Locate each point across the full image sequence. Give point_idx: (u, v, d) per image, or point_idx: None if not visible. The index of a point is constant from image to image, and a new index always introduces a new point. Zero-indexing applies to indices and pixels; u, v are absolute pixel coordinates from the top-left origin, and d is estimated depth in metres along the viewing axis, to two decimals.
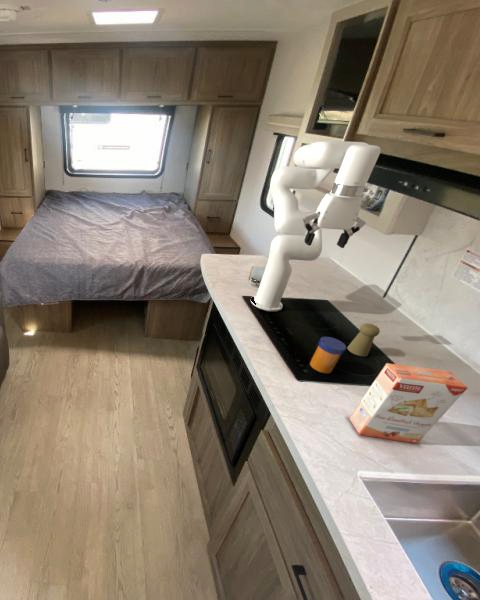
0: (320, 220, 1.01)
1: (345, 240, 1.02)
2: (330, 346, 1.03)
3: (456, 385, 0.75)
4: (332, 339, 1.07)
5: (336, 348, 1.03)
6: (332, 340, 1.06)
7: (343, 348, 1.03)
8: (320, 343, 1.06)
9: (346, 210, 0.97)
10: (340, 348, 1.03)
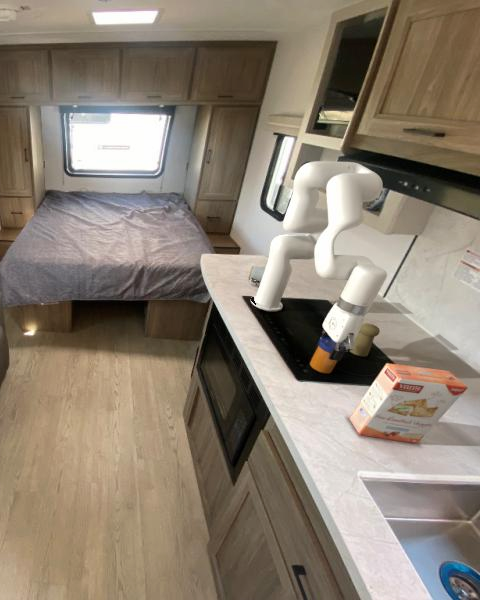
0: (354, 339, 0.98)
1: None
2: (330, 346, 1.03)
3: (456, 385, 0.75)
4: None
5: None
6: (332, 340, 1.06)
7: None
8: (320, 343, 1.06)
9: None
10: None
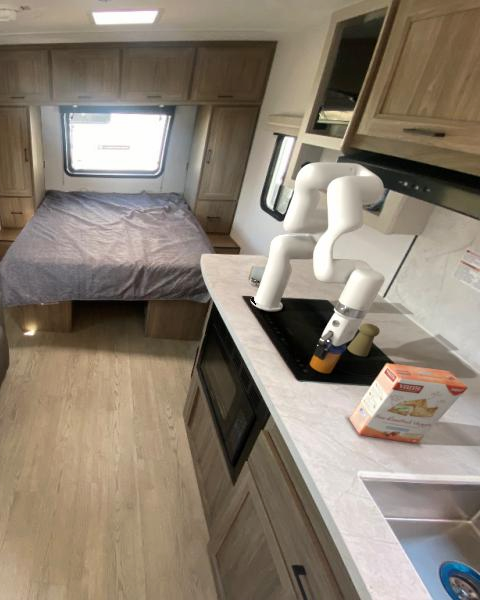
0: None
1: None
2: None
3: (456, 385, 0.75)
4: (326, 343, 1.04)
5: None
6: (328, 343, 1.04)
7: None
8: (344, 350, 1.02)
9: None
10: None
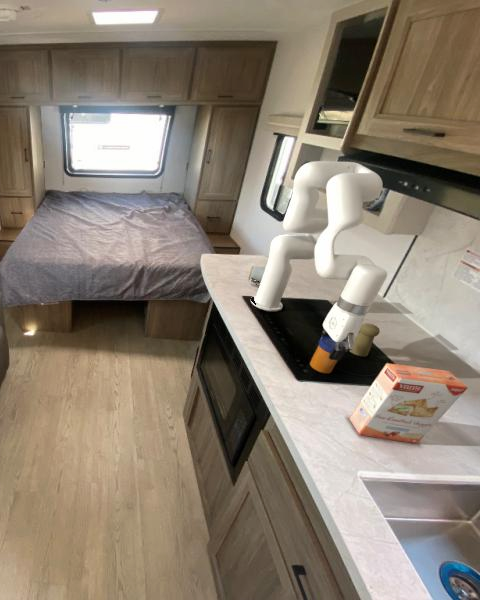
0: (354, 339, 0.98)
1: None
2: (342, 343, 1.04)
3: (456, 385, 0.75)
4: (326, 343, 1.04)
5: None
6: (328, 343, 1.04)
7: (330, 337, 1.07)
8: None
9: None
10: None
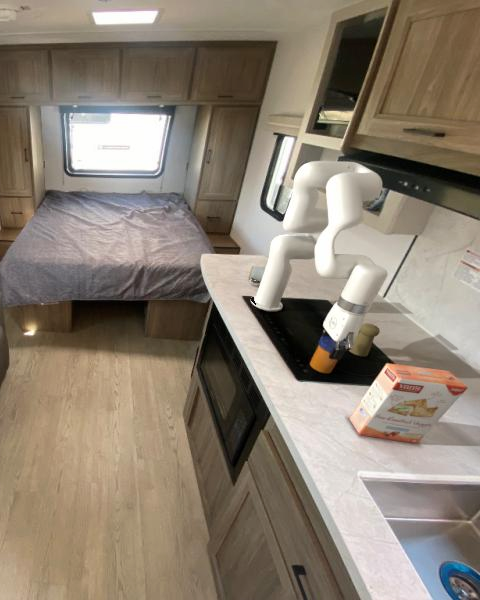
0: (354, 338, 0.98)
1: None
2: (325, 337, 1.07)
3: (456, 385, 0.75)
4: (342, 345, 1.03)
5: (323, 339, 1.06)
6: None
7: (326, 344, 1.04)
8: None
9: None
10: (326, 342, 1.04)
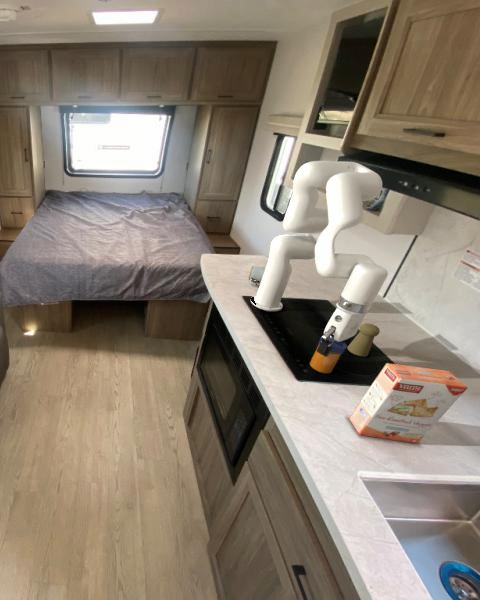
0: None
1: None
2: (335, 346, 1.03)
3: (456, 385, 0.75)
4: None
5: (341, 347, 1.02)
6: (330, 338, 1.06)
7: (345, 345, 1.03)
8: None
9: None
10: (343, 345, 1.03)
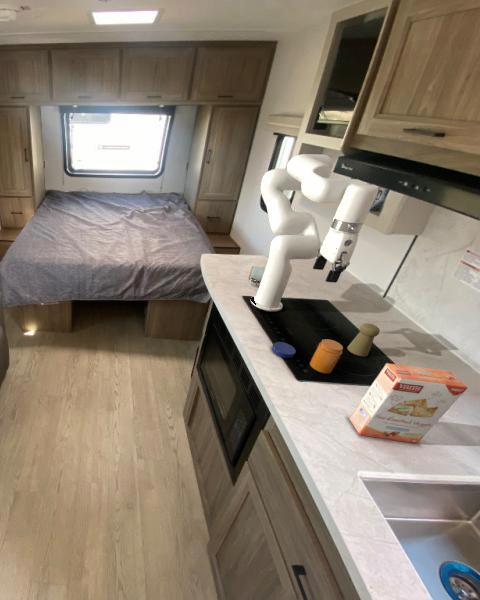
0: None
1: (328, 274, 1.05)
2: (291, 352, 1.13)
3: (456, 385, 0.75)
4: (277, 345, 1.17)
5: (293, 350, 1.14)
6: (279, 346, 1.16)
7: (290, 346, 1.16)
8: (285, 355, 1.13)
9: (331, 241, 1.04)
10: (290, 347, 1.16)
